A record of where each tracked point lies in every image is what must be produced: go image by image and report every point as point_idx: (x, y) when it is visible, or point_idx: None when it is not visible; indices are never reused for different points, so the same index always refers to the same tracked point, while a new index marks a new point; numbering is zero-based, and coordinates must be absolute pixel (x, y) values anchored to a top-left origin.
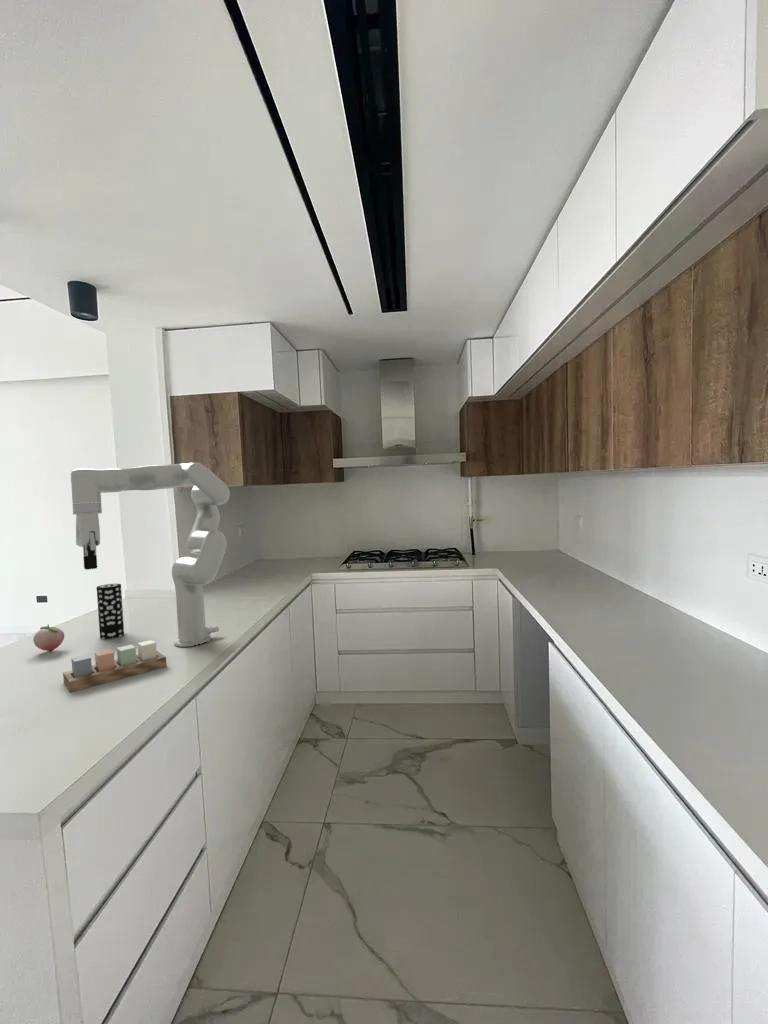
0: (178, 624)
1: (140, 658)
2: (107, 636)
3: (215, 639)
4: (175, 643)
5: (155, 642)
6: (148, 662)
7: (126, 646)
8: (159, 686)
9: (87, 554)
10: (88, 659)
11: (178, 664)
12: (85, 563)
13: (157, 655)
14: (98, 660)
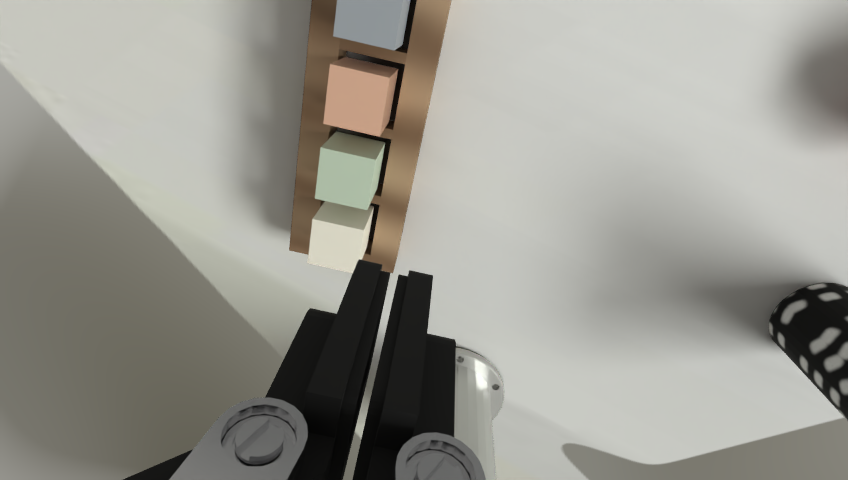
0: (456, 409)
1: None
2: (801, 297)
3: None
4: (457, 352)
5: (310, 263)
6: (295, 198)
7: (358, 187)
8: (144, 135)
9: (206, 446)
10: (335, 25)
11: (284, 261)
12: (341, 310)
13: None
14: (335, 62)
